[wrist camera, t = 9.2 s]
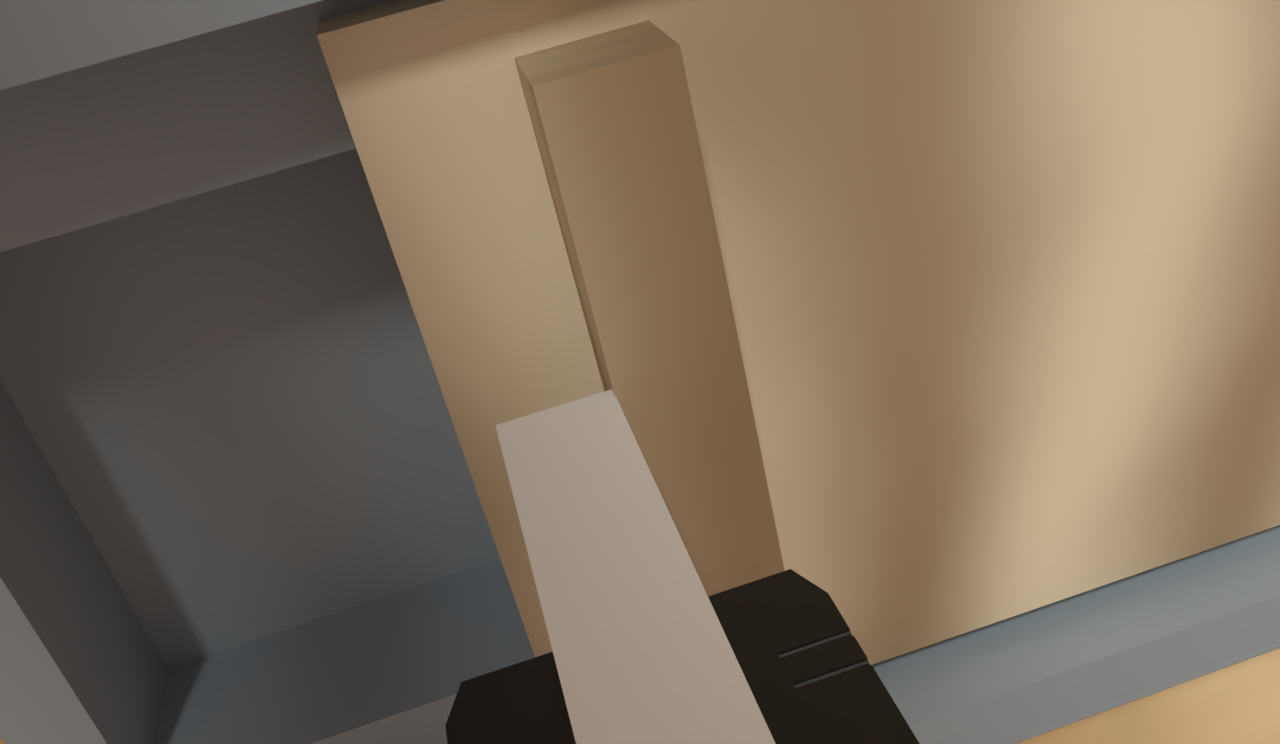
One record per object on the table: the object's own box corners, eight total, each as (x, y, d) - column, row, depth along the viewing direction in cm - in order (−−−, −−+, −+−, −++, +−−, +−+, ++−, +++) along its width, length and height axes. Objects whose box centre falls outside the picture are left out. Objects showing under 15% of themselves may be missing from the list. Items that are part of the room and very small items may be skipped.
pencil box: (179, 782, 22) (138, 1060, 18) (-299, -2, 15) (-594, 106, 10) (1387, 372, 25) (1642, 517, 20) (1478, -473, 18) (1915, -566, 13)
